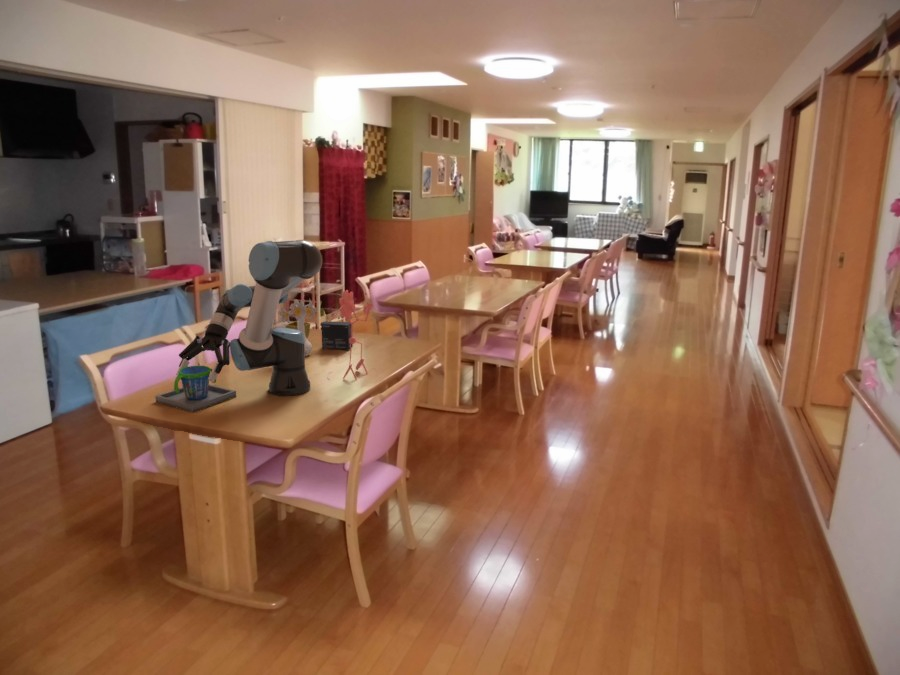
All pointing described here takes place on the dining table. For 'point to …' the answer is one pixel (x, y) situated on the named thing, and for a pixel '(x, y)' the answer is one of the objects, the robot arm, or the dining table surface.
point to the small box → (336, 335)
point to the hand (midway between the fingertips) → (194, 378)
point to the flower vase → (300, 318)
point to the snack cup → (194, 381)
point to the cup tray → (182, 402)
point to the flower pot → (295, 326)
